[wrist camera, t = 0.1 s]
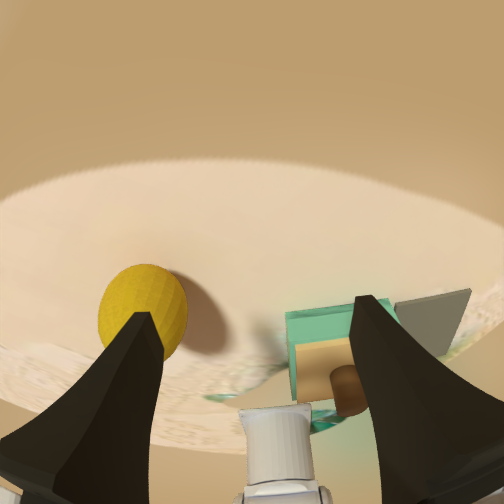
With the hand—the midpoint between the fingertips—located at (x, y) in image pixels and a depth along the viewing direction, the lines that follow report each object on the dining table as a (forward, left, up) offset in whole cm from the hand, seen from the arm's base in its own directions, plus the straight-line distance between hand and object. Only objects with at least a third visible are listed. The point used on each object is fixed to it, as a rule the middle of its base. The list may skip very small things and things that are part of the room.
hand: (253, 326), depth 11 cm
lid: (-13, -6, -7) cm, 16 cm away
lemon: (-4, +7, -10) cm, 13 cm away
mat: (-14, -15, -10) cm, 23 cm away
